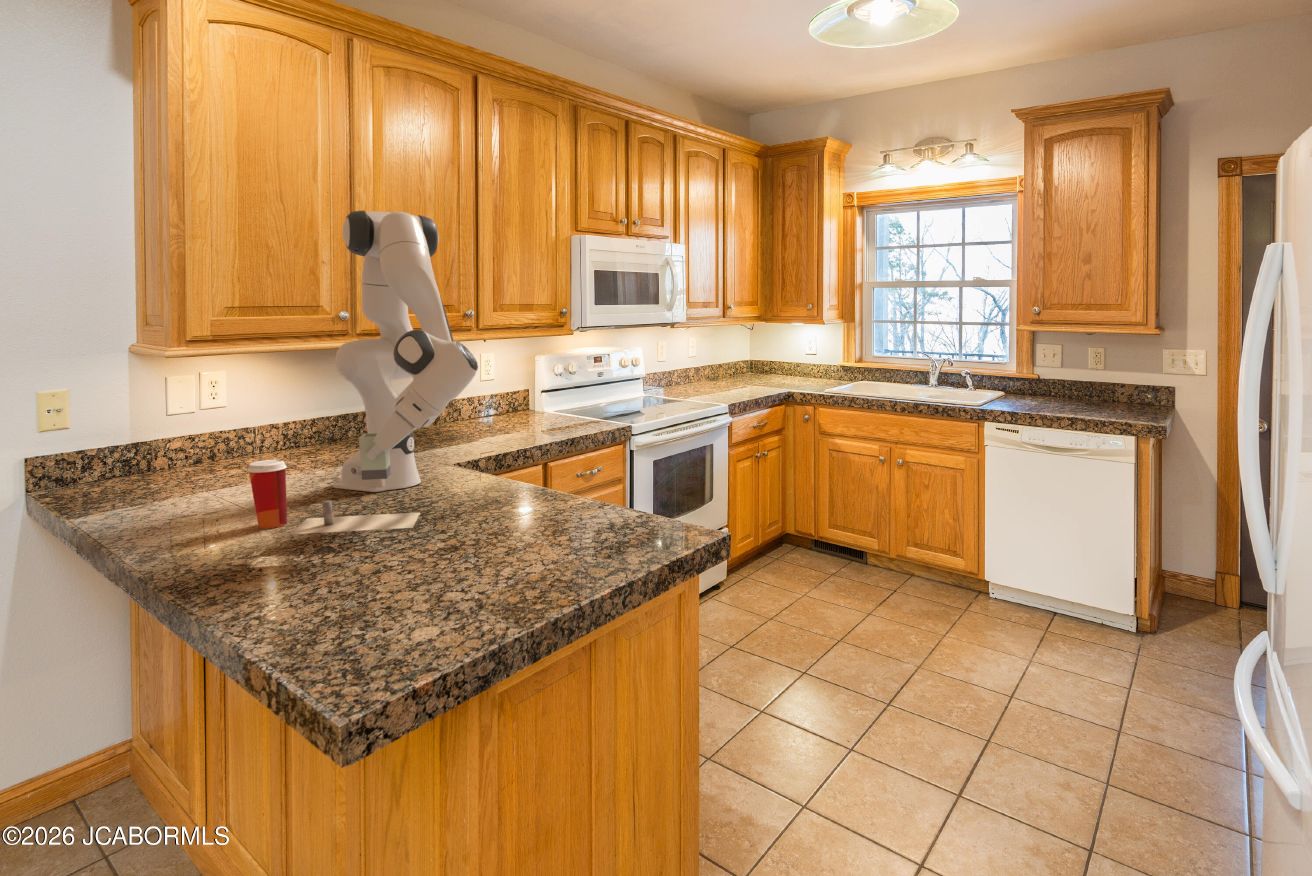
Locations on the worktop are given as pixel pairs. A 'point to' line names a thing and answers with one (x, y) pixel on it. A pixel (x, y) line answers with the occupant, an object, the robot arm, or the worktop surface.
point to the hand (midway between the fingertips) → (371, 454)
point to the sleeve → (375, 467)
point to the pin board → (354, 522)
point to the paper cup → (269, 492)
